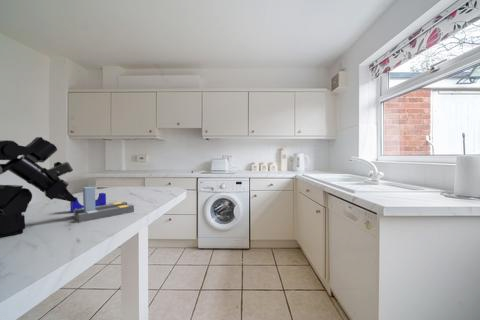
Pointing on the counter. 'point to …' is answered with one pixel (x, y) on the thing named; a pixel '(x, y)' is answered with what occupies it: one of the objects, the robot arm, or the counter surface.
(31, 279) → the counter surface
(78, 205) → the cable clip
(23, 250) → the counter surface
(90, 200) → the tab
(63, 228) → the counter surface
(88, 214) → the switch housing
